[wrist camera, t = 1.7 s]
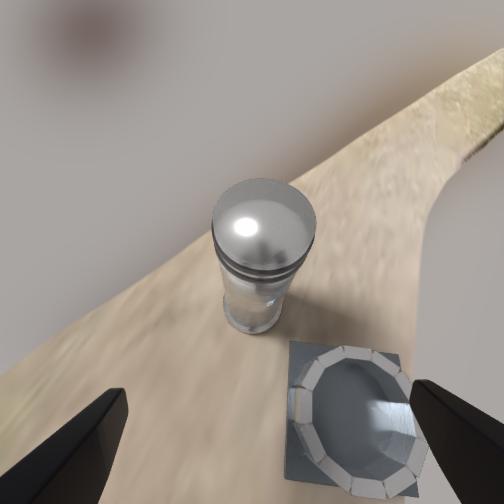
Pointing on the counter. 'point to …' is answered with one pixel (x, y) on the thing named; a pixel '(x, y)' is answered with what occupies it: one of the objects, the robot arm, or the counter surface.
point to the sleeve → (351, 422)
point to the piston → (260, 248)
